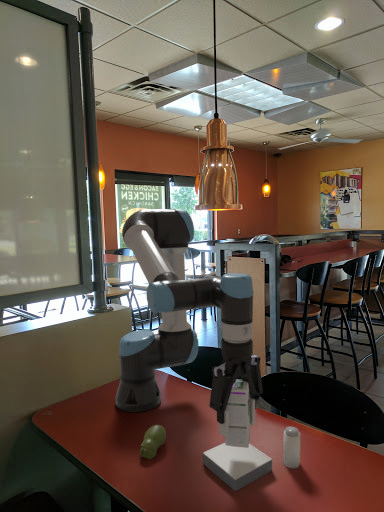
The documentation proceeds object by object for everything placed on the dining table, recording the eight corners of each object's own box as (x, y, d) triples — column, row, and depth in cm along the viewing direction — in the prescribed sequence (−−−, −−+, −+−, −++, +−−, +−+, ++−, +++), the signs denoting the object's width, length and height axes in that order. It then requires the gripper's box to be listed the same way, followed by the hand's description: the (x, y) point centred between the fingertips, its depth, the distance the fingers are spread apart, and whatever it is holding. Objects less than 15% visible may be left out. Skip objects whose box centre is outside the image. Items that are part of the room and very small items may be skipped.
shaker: (280, 462, 96) (280, 429, 95) (290, 456, 98) (290, 423, 97) (292, 470, 92) (293, 436, 91) (303, 464, 95) (303, 431, 94)
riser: (203, 463, 95) (203, 452, 95) (238, 446, 102) (238, 436, 102) (235, 491, 86) (235, 479, 85) (272, 470, 92) (272, 458, 92)
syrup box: (249, 448, 90) (248, 390, 88) (224, 446, 91) (223, 388, 89) (250, 434, 95) (249, 379, 94) (226, 432, 96) (226, 378, 95)
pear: (169, 423, 104) (152, 449, 95) (170, 439, 106) (154, 466, 97) (150, 419, 106) (133, 444, 97) (152, 434, 108) (135, 461, 99)
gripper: (212, 352, 81) (213, 451, 84) (278, 333, 93) (277, 421, 96) (192, 343, 87) (193, 436, 90) (256, 327, 99) (256, 409, 102)
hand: (237, 428), depth 93 cm, fingers closed on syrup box, 8 cm apart
